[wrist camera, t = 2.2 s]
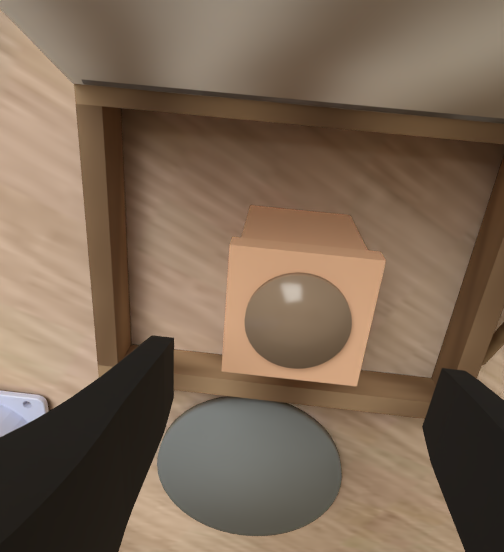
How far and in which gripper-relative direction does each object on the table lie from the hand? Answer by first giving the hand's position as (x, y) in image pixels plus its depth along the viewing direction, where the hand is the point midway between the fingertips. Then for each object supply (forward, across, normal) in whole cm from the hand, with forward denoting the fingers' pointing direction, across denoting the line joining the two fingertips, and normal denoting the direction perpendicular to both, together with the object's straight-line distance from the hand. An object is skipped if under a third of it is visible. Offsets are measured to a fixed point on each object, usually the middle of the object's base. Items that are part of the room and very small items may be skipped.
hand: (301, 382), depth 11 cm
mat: (+9, +1, +14) cm, 17 cm away
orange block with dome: (+9, 0, 0) cm, 9 cm away
